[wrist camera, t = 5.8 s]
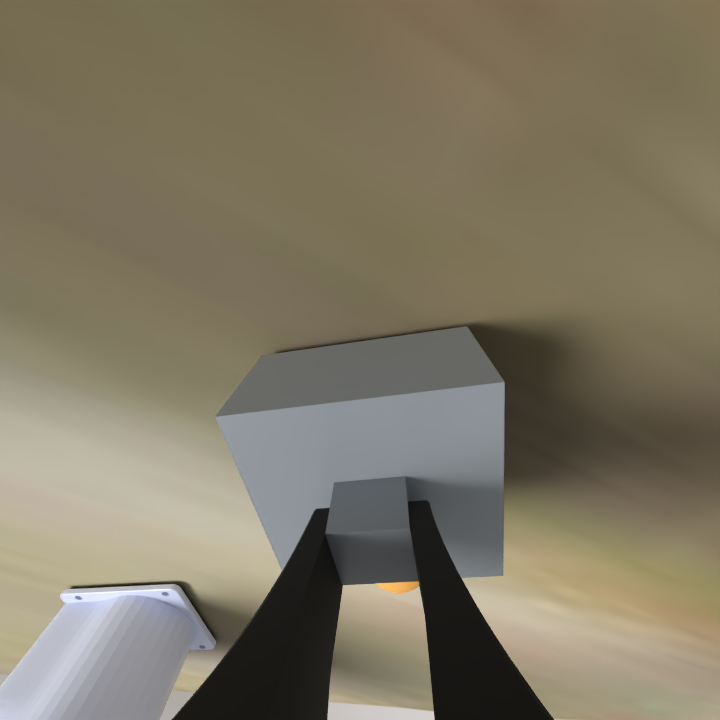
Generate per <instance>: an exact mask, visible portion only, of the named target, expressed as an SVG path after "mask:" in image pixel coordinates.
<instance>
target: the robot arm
mask: <svg viewBox="0 0 720 720" xmlns="http://www.w3.org/2000/svg"><path fill="white" fill-rule="evenodd" d="M329 509H330V508H320V509H315V510H314V512H313V514H312V516H311V518H310V520H309V522H308V524H307V526H306V528H305V530H304V532H303V534H302V536H301V538H300V540H299V542H298V544H297V545H296V547H295V549H294V551H293V553H292V555H291V556H290V558H289V560H288V562H287V563H286V565H285V567H284V569H283V571H282V572H281V574H280V576H279V577H278V579H277V581H276V582H275V584H274V585H273V587H272V589H271V590H270V592H269V593H268V595H267V597H266V598H265V600H264V601H263V603H262V605H261V606H260V608H259V609H258V611H257V612H256V614H255V615H254V617H253V618H252V619H251V621H250V622H249V624H248V625H247V627H246V628H245V629H244V631H243V632H242V634H241V635H240V636H239V638H238V639H237V641H236V642H235V643H234V644H233V646H232V647H231V648H230V650H229V651H228V652H227V654H226V655H225V656H224V658H223V659H222V660H221V662H220V663H219V664H218V665H217V667H216V668H215V669H214V670H213V672H212V673H211V674H210V675H209V677H208V678H207V679H206V680H205V682H204V683H203V684H202V685H201V686H200V687H199V689H198V690H197V691H196V692H195V693H194V694H193V696H192V697H191V698H190V699H189V700H188V701H187V703H186V704H185V705H184V706H183V707H182V708H181V710H180V711H179V712H178V713H177V714H176V716H175V717H174V718H173V719H172V720H327V713H328V699H329V684H330V674H331V665H332V657H333V650H334V643H335V636H336V629H337V622H338V615H339V609H340V601H341V594H342V587H343V585H342V584H341V580H340V577H339V574H338V571H337V568H336V565H335V562H334V559H333V556H332V553H331V550H330V547H329V544H328V540H327V537H326V534H325V533H326V527H327V521H328V515H329ZM408 511H409V526H410V532H411V538H412V544H413V550H414V556H415V562H416V568H417V574H418V580H419V586H420V591H421V597H422V602H423V608H424V613H425V621H426V631H427V641H428V652H429V662H430V673H431V683H432V694H433V705H434V716H435V720H554V719H553V718H552V716H551V715H550V714H549V712H548V711H547V710H546V708H545V707H544V706H543V704H542V703H541V702H540V700H539V699H538V697H537V696H536V695H535V693H534V692H533V690H532V689H531V687H530V686H529V685H528V683H527V682H526V680H525V679H524V677H523V676H522V675H521V673H520V672H519V670H518V669H517V668H516V666H515V665H514V663H513V662H512V660H511V659H510V657H509V656H508V654H507V653H506V651H505V650H504V648H503V647H502V645H501V644H500V642H499V641H498V639H497V638H496V636H495V635H494V633H493V631H492V630H491V628H490V627H489V625H488V623H487V622H486V620H485V619H484V617H483V615H482V614H481V612H480V610H479V609H478V607H477V605H476V604H475V602H474V600H473V598H472V597H471V595H470V593H469V591H468V589H467V588H466V586H465V584H464V582H463V580H462V579H461V577H460V575H459V573H458V571H457V569H456V567H455V565H454V563H453V561H452V559H451V557H450V555H449V553H448V551H447V549H446V546H445V544H444V542H443V540H442V537H441V535H440V533H439V530H438V528H437V525H436V522H435V520H434V517H433V513H432V510H431V506H430V502H428V501H427V500H421V501H408ZM60 597H61V599H62V600H63V601H64V602H65V603H66V604H65V605H64V606H63V607H62V609H61V610H60V611H59V612H58V614H57V615H56V616H55V618H54V619H53V620H52V621H51V623H50V624H49V625H48V626H47V628H46V629H45V630H44V632H43V633H42V634H41V635H40V637H39V638H38V639H37V640H36V642H35V643H34V644H33V646H32V647H31V648H30V649H29V651H28V652H27V653H26V654H25V656H24V657H23V658H22V660H21V661H20V662H19V663H18V665H17V666H16V667H15V668H14V670H13V671H12V672H11V674H10V675H9V676H8V677H7V679H6V680H5V681H4V683H3V684H2V685H1V686H0V720H159V719H160V717H161V714H162V712H163V710H164V708H165V705H166V703H167V701H168V698H169V696H170V694H171V691H172V689H173V687H174V684H175V682H176V680H177V677H178V675H179V673H180V670H181V668H182V666H183V663H184V661H185V659H186V656H187V654H188V652H189V650H212V649H214V647H215V645H216V641H215V639H214V638H213V636H212V635H211V633H210V632H209V630H208V628H207V627H206V625H205V624H204V622H203V621H202V619H201V618H200V616H199V615H198V613H197V612H196V610H195V609H194V607H193V606H192V604H191V602H190V601H189V599H188V598H187V596H186V595H185V593H184V592H183V590H182V589H181V587H180V586H178V585H176V584H163V585H143V586H122V587H102V588H82V589H66V590H64V591H63V593H62V594H61V595H60Z"/></svg>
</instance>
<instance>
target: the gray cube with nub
mask: <svg viewBox="0 0 720 720" xmlns="http://www.w3.org/2000/svg"><path fill="white" fill-rule="evenodd" d="M504 402H505V382H504V380H503V379H502V377H501V376H500V374H499V373H498V371H497V370H496V368H495V367H494V366H493V364H492V363H491V361H490V360H489V358H488V357H487V355H486V354H485V352H484V351H483V349H482V348H481V346H480V345H479V343H478V342H477V340H476V339H475V337H474V336H473V334H472V333H471V331H470V330H469V328H468V327H467V326H465V327H458V328H451V329H444V330H437V331H430V332H423V333H416V334H409V335H402V336H395V337H388V338H381V339H374V340H367V341H360V342H353V343H346V344H339V345H332V346H325V347H318V348H311V349H304V350H297V351H290V352H283V353H276V354H269V355H262V356H261V358H260V359H259V360H258V361H257V363H256V364H255V365H254V367H253V368H252V369H251V371H250V372H249V373H248V374H247V376H246V377H245V378H244V380H243V381H242V382H241V384H240V385H239V386H238V388H237V389H236V390H235V391H234V393H233V394H232V395H231V397H230V398H229V399H228V401H227V402H226V403H225V405H224V406H223V407H222V408H221V410H220V411H219V412H218V414H217V415H216V416H215V418H216V420H217V422H218V425H219V427H220V429H221V432H222V434H223V436H224V439H225V441H226V443H227V445H228V448H229V450H230V452H231V455H232V457H233V459H234V461H235V464H236V466H237V468H238V471H239V473H240V475H241V478H242V480H243V482H244V484H245V487H246V489H247V491H248V494H249V496H250V498H251V500H252V503H253V505H254V507H255V510H256V512H257V514H258V517H259V519H260V521H261V523H262V526H263V528H264V530H265V533H266V535H267V537H268V539H269V542H270V544H271V546H272V549H273V551H274V553H275V556H276V558H277V560H278V562H279V565H280V567H281V569H282V571H283V569H284V567H285V565H286V563H287V562H288V560H289V558H290V556H291V555H292V553H293V551H294V549H295V547H296V545H297V544H298V542H299V540H300V538H301V536H302V534H303V532H304V530H305V528H306V526H307V524H308V522H309V520H310V518H311V516H312V514H313V512H314V510H315V509H320V508H330V509H329V515H328V521H327V527H326V533H325V534H326V537H327V540H328V544H329V547H330V550H331V553H332V556H333V559H334V562H335V565H336V568H337V571H338V574H339V577H340V580H341V584H342V585H355V584H375V583H396V582H417V581H418V574H417V568H416V562H415V556H414V550H413V544H412V538H411V532H410V526H409V511H408V501H421V500H427V501H428V502H430V506H431V510H432V513H433V517H434V520H435V522H436V525H437V528H438V530H439V533H440V535H441V537H442V540H443V542H444V544H445V546H446V549H447V551H448V553H449V555H450V557H451V559H452V561H453V563H454V565H455V567H456V569H457V571H458V573H459V575H460V577H461V578H467V577H487V576H503V536H504Z"/></svg>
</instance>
